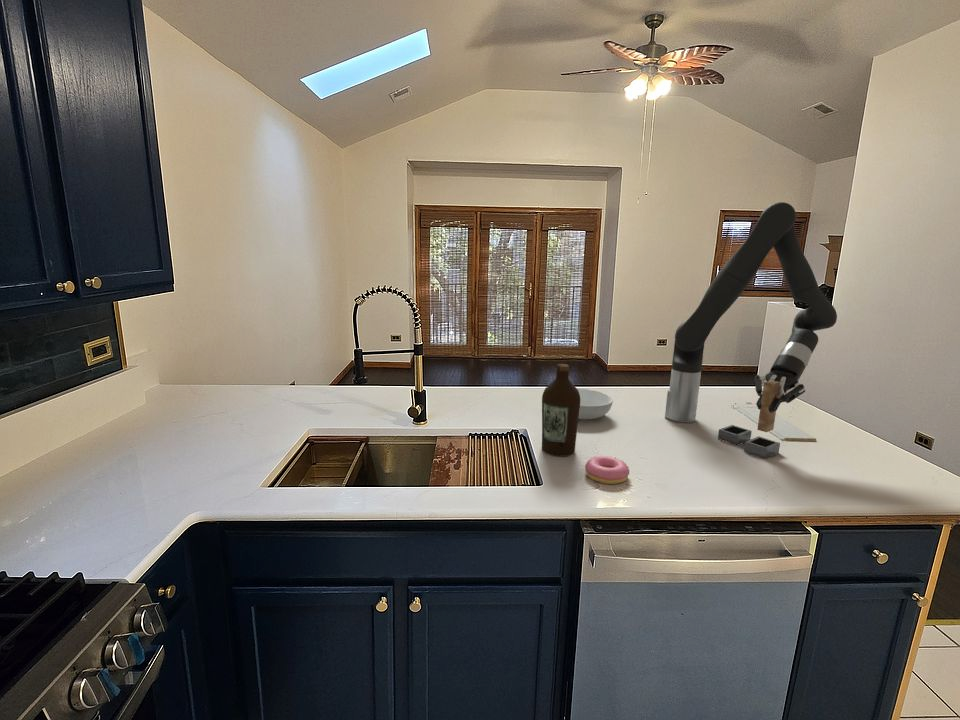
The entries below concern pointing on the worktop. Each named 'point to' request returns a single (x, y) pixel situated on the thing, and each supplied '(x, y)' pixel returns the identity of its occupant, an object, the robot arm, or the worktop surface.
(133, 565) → the worktop surface
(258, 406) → the worktop surface
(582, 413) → the serving bowl
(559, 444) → the olive oil
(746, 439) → the endcap
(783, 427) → the baseboard
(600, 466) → the doughnut
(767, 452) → the endcap
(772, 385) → the slat
